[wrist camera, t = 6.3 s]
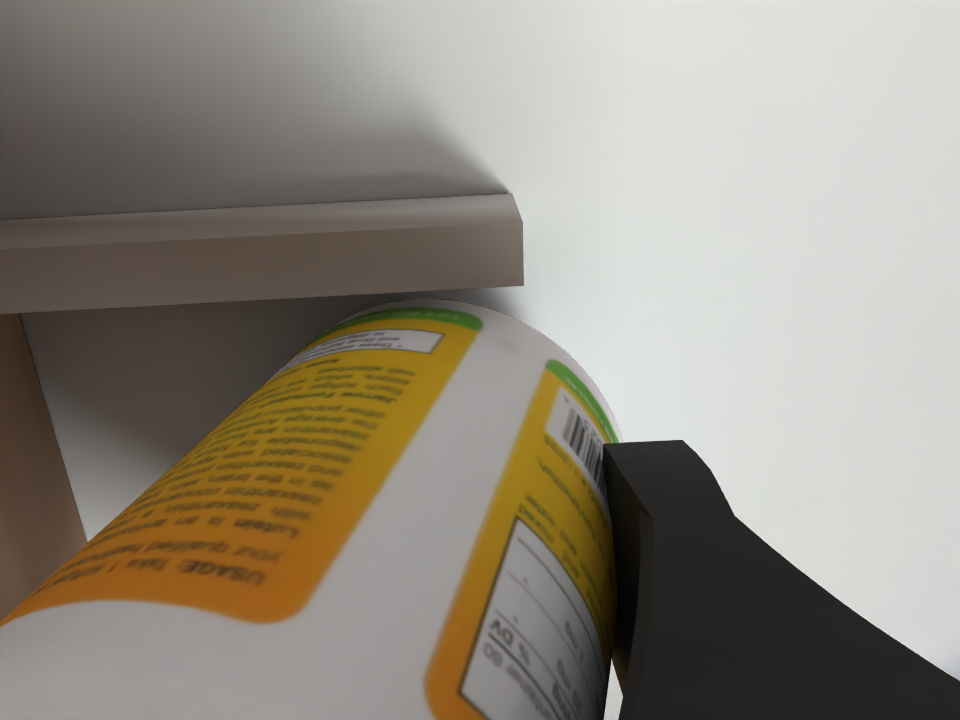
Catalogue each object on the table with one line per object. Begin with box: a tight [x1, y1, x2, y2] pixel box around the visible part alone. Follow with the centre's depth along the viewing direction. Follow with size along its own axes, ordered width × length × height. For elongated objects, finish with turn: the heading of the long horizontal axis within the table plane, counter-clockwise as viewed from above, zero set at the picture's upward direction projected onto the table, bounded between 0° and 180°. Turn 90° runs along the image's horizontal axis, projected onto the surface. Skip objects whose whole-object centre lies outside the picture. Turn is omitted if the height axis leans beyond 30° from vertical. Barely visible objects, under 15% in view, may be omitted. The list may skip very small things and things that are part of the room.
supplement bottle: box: [0, 299, 624, 720], centre depth 8 cm, size 5×5×10 cm
